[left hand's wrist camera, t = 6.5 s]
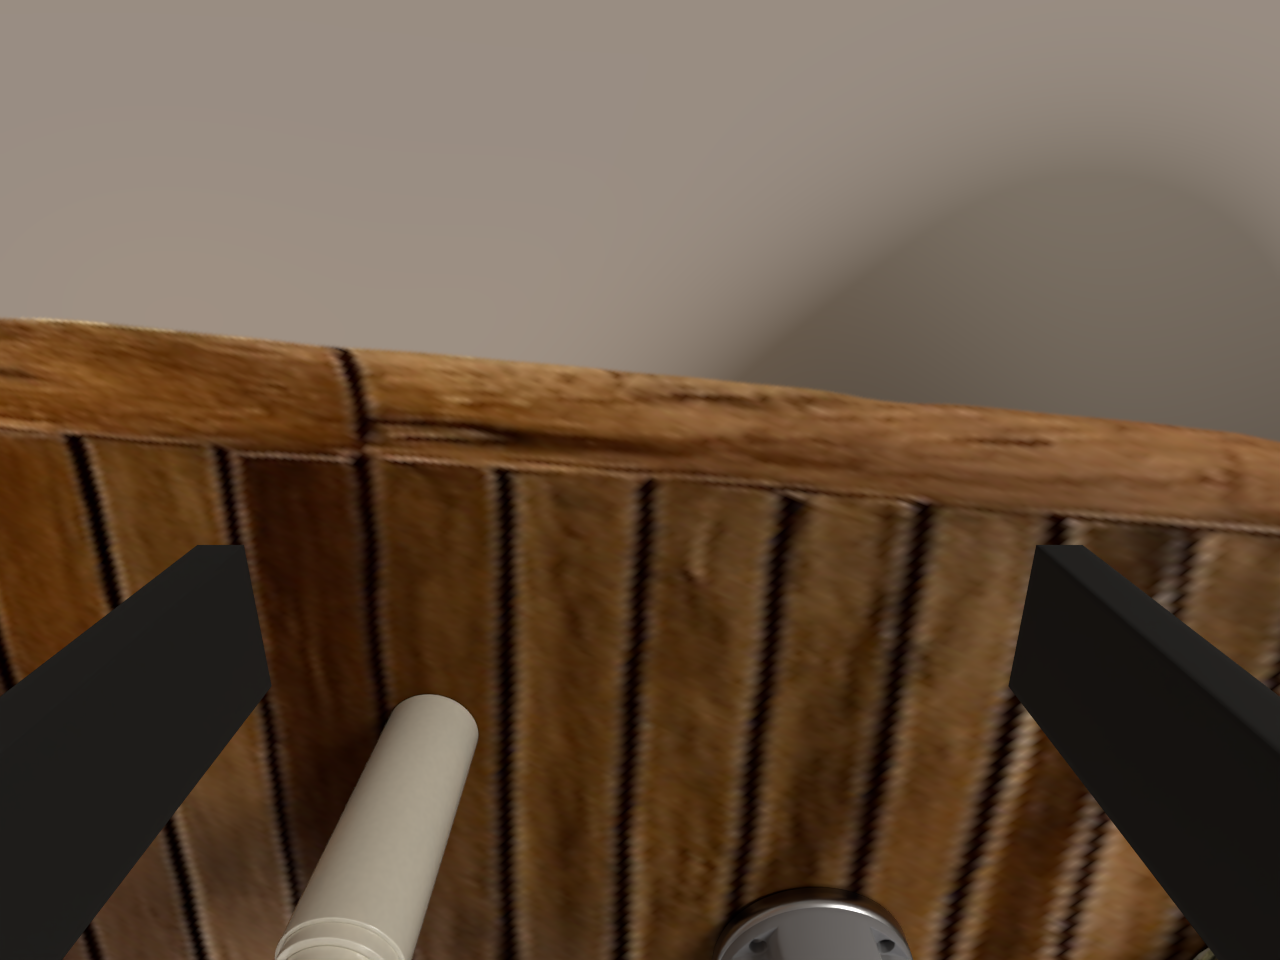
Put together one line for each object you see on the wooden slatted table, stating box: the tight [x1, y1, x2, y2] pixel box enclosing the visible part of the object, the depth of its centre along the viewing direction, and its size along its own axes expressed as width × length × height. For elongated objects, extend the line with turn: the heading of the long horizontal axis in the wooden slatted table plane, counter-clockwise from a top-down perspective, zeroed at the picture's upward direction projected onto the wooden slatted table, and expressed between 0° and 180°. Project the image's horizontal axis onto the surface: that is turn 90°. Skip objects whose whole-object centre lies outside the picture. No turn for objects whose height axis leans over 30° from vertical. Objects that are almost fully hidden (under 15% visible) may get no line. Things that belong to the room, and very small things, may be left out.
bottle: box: [275, 694, 478, 960], centre depth 41 cm, size 6×6×24 cm
